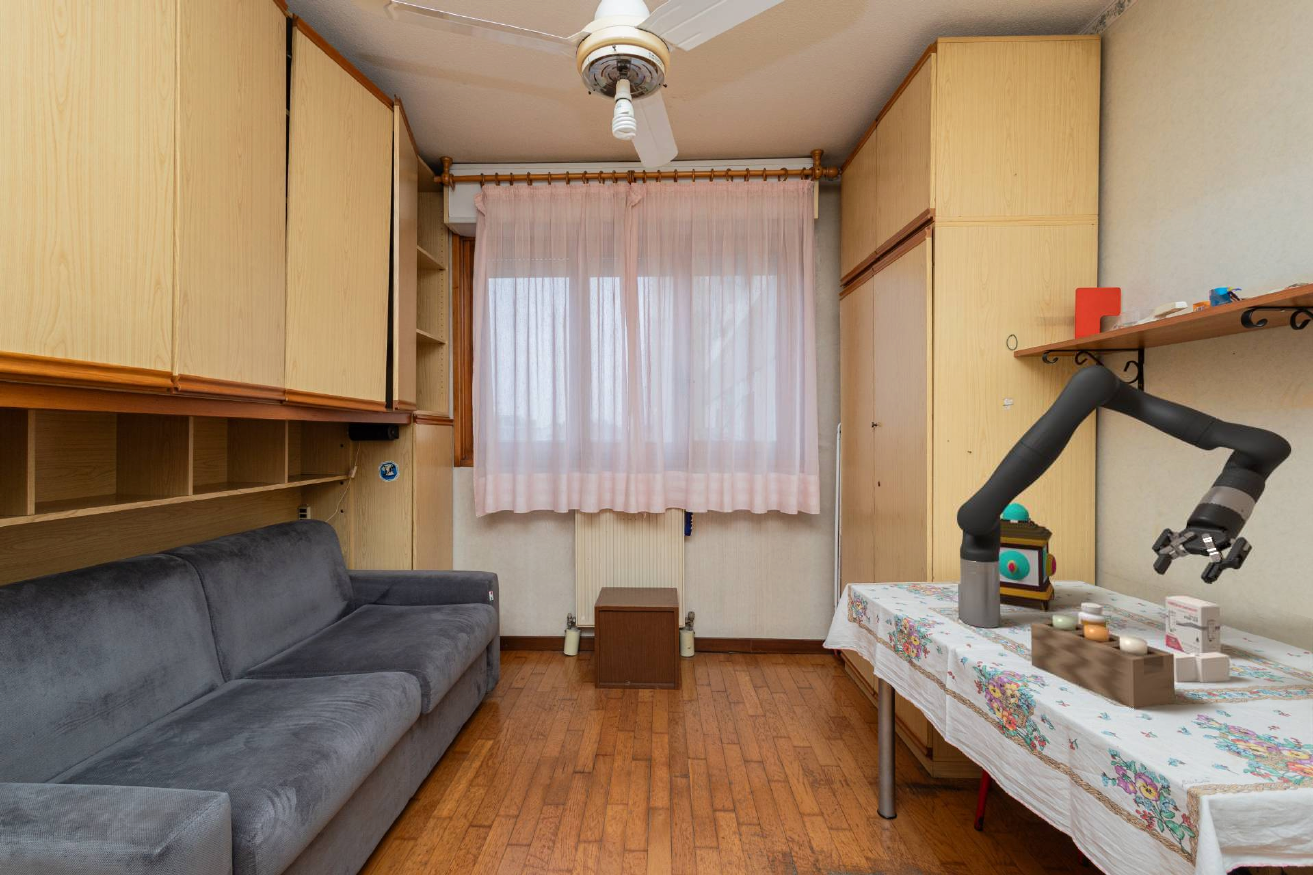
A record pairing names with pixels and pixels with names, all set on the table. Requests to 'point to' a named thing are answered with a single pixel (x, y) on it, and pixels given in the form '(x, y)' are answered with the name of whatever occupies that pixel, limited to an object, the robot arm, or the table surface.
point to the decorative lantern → (1025, 558)
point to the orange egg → (1096, 633)
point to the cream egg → (1133, 645)
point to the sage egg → (1064, 623)
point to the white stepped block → (1201, 667)
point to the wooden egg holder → (1104, 666)
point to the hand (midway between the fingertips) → (1181, 576)
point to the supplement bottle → (1091, 615)
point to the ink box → (1192, 625)
